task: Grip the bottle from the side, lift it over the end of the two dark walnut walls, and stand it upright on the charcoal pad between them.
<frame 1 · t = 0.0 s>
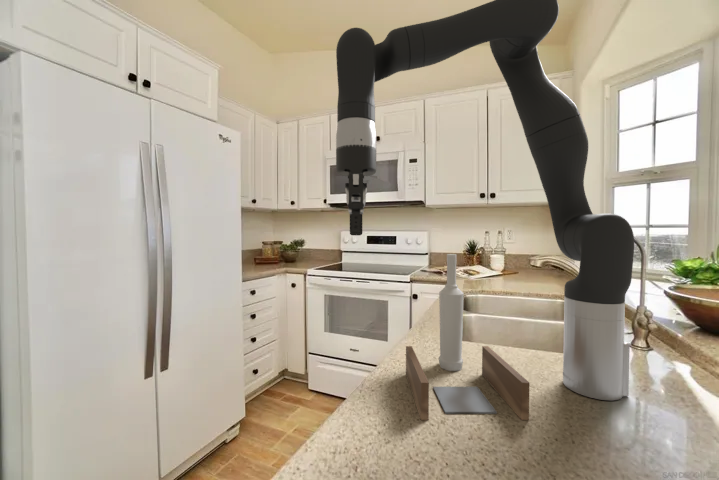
hand: (356, 235, 59), 29 cm above the countertop, tool pointing down, fingers open, 8 cm apart
arena: (458, 394, 58), on the countertop
bottle: (450, 367, 70), on the countertop
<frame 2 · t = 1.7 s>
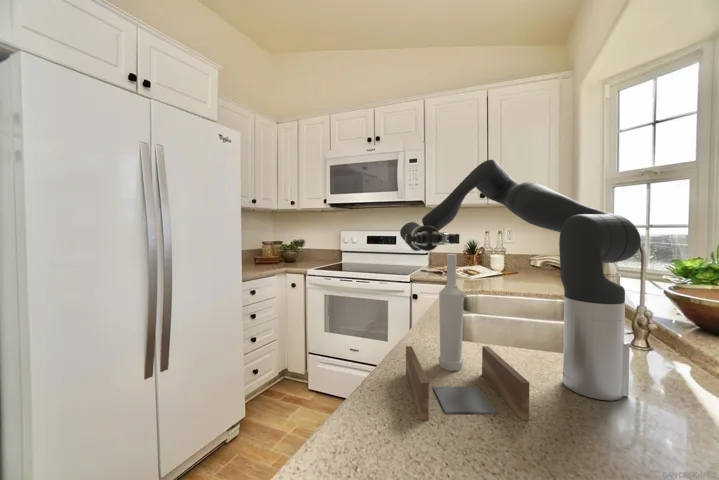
hand: (438, 239, 80), 28 cm above the countertop, tool horizontal, fingers open, 8 cm apart
nothing on the countertop moved.
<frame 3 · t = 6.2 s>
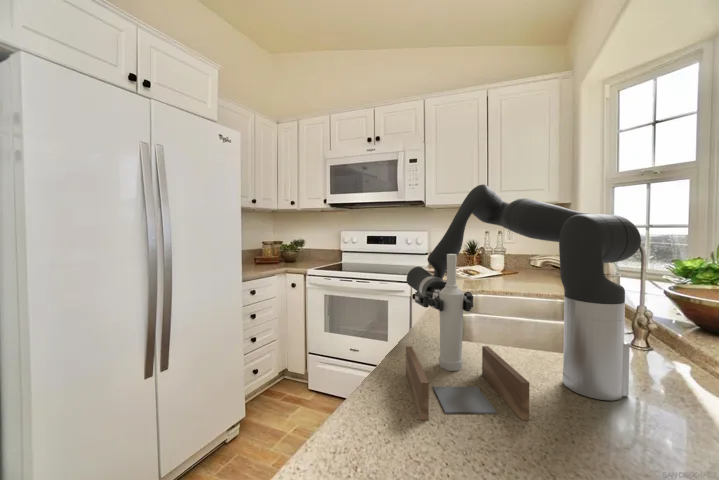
hand: (454, 306, 67), 14 cm above the countertop, tool horizontal, fingers closed on bottle, 5 cm apart
bottle: (450, 367, 70), on the countertop, touching gripper
when the fingers open (15 cm above the countertop, at t = 11.8 s): bottle stays where it is, resting on arena.
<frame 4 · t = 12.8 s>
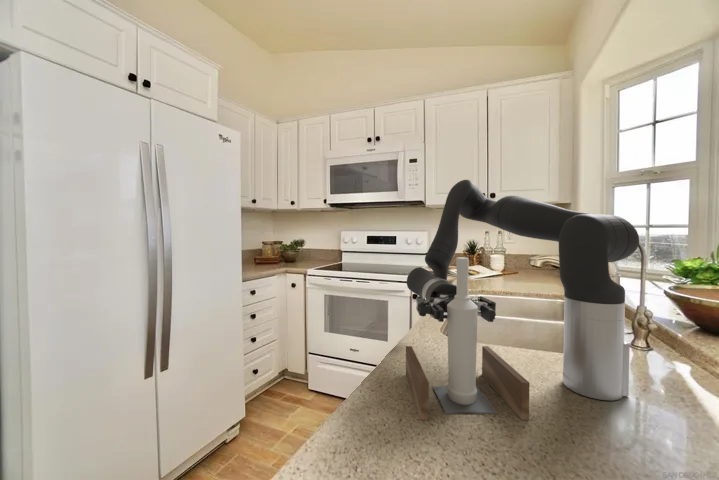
hand: (466, 316, 54), 15 cm above the countertop, tool horizontal, fingers open, 8 cm apart
bottle: (461, 398, 56), resting on arena
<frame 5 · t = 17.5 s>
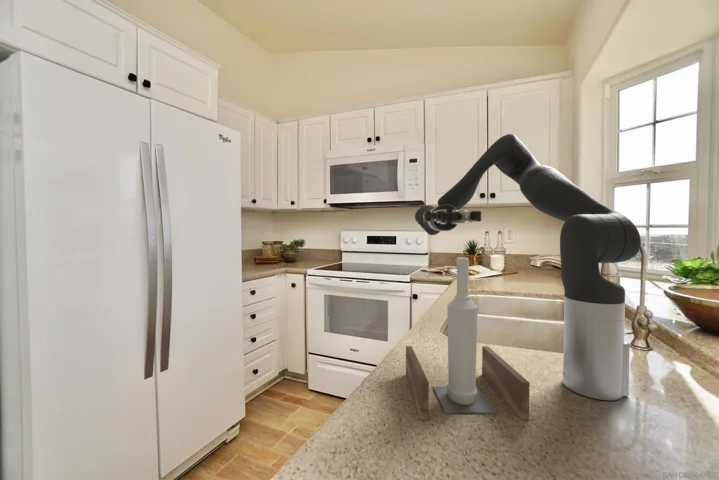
hand: (459, 215, 76), 34 cm above the countertop, tool horizontal, fingers open, 8 cm apart
nothing on the countertop moved.
at the end: bottle inside the target area on the arena (0.2 cm from its centre), point 0.1 cm above the arena's base; bottle tilted 0°; the gripper is holding nothing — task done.
